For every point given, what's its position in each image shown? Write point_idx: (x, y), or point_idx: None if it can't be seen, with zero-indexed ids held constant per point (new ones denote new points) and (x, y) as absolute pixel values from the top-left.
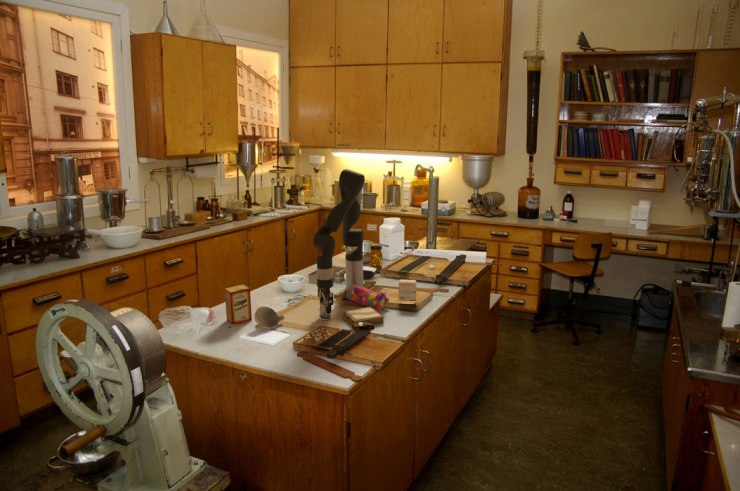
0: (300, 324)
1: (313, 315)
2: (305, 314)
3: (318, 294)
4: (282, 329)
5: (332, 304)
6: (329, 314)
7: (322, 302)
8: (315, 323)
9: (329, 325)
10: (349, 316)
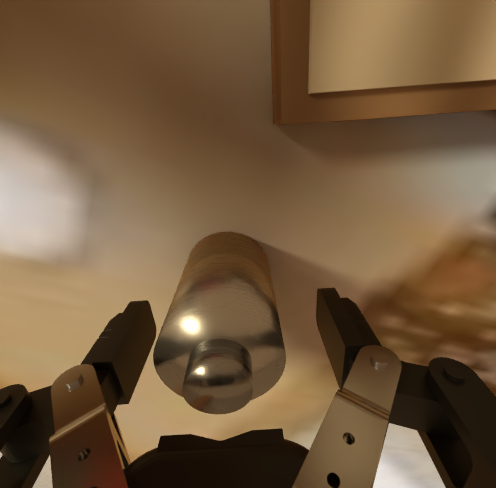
0: (274, 402)
1: (157, 324)
2: None
3: (33, 484)
4: None
5: (467, 383)
6: (263, 265)
7: (225, 406)
8: (296, 341)
9: (373, 277)
10: (466, 109)
